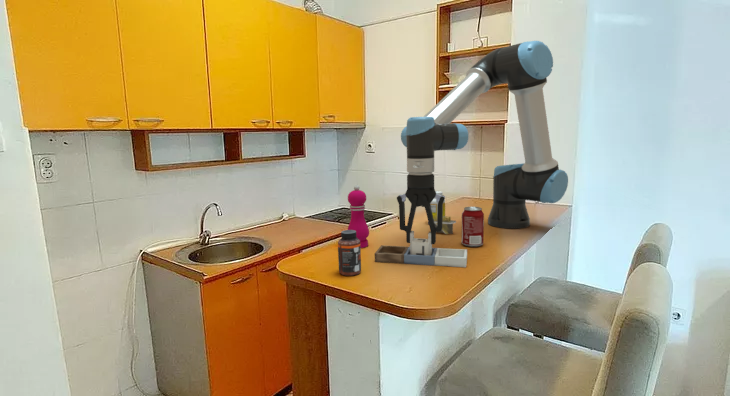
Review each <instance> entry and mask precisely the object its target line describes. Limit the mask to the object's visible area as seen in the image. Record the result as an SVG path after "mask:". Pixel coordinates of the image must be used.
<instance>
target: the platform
mask: <svg viewBox="0 0 730 396" xmlns="http://www.w3.org/2000/svg"><path fill="white" fill-rule="evenodd" d="M444 218H445V220H444ZM451 218H452V217H451V216H446V215H445V216H444V217H443V221H442V230H441V231H440V232H437V233H439V234H440V233H441V234H445V235H448V234H451V235H452V234H454V224H456V223H457V220H453V219H451ZM434 223H435V227H437V216H435V217H434Z"/></svg>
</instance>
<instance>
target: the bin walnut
mask: <svg viewBox="0 0 730 396" xmlns="http://www.w3.org/2000/svg"><path fill="white" fill-rule="evenodd" d="M408 247H409V246H405V245H404V246H402V245H401V246H400V245H380V246H379V248H377V250H376V251H375V253H374V262H375V263H384V264H385V263H386V264H387V263H388V264H401V265H404V254H405V253H406V251H407V249H408Z"/></svg>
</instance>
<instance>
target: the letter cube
mask: <svg viewBox="0 0 730 396" xmlns="http://www.w3.org/2000/svg"><path fill="white" fill-rule="evenodd" d="M412 255H426V256H428V238H417V237H416V238H415V237H414V240H413V242H412Z"/></svg>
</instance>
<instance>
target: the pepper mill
mask: <svg viewBox="0 0 730 396" xmlns="http://www.w3.org/2000/svg"><path fill="white" fill-rule="evenodd" d="M353 189H354V190H351V191H350V192H349V193H348V195H347V202H348V203H349V211H350V213H351V214H350V221H349V224H348V227H347V230H355V231H356V235H357V236H356V237H357V238H358V239H359V240H360V246H361V248H360V249H363V248H368V247H369V240H368V237H369V235H370V229H369V226H368V224H367V221H366V219H365V209H366V205H365V203H366V202H367V195H366V193H365V192H364V191H363V190H360V185H358V184H357V185H354V186H353Z"/></svg>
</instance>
